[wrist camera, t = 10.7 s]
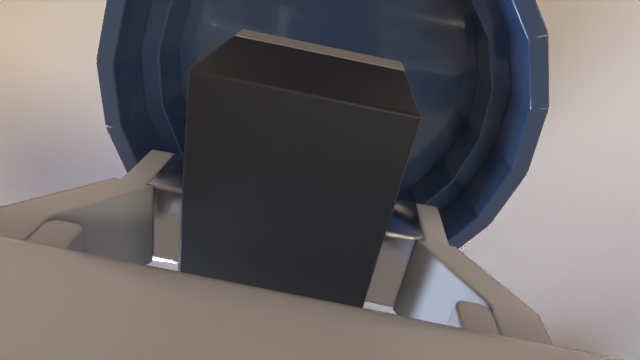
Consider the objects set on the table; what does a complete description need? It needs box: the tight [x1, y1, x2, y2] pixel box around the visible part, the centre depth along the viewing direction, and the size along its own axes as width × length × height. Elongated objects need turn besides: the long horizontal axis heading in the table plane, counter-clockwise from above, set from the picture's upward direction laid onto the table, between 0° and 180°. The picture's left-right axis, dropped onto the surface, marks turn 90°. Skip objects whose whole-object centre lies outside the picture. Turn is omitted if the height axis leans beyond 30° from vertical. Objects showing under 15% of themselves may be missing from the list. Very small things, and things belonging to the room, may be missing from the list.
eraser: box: [178, 29, 421, 308], centre depth 10 cm, size 7×4×4 cm, turn 169°
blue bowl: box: [97, 0, 549, 249], centre depth 18 cm, size 15×15×5 cm
